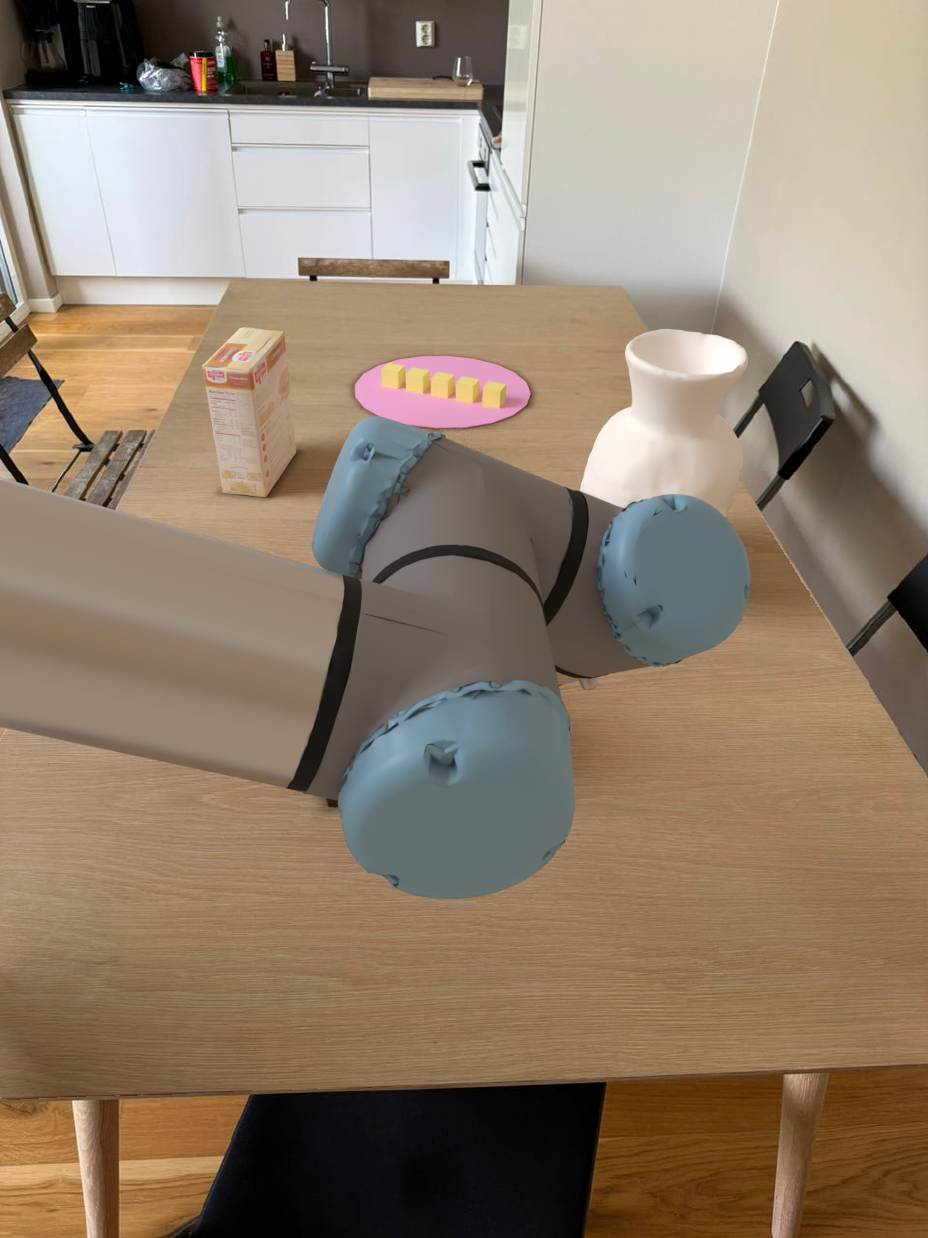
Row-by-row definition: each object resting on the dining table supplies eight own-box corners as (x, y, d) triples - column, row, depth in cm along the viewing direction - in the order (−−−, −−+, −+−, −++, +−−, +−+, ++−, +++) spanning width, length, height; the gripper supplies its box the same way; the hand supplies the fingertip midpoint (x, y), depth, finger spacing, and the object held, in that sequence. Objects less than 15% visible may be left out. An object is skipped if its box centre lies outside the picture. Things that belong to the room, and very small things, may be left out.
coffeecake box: (255, 447, 141) (239, 325, 130) (298, 452, 141) (286, 329, 129) (219, 493, 130) (199, 364, 118) (266, 498, 129) (251, 369, 117)
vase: (556, 600, 111) (583, 370, 93) (590, 517, 127) (619, 307, 109) (707, 632, 107) (766, 397, 89) (722, 542, 123) (775, 327, 105)
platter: (496, 442, 145) (497, 423, 143) (322, 407, 154) (320, 389, 152) (552, 373, 169) (554, 356, 167) (399, 346, 178) (398, 329, 176)
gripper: (370, 748, 48) (301, 757, 68) (727, 631, 58) (576, 668, 77) (331, 617, 49) (274, 663, 68) (691, 521, 58) (550, 586, 78)
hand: (434, 666), depth 73 cm, fingers open, 13 cm apart
